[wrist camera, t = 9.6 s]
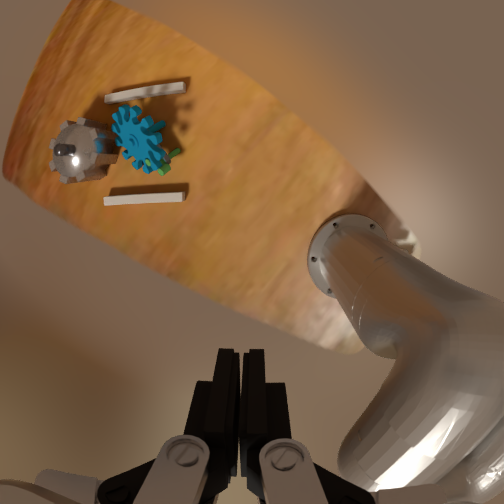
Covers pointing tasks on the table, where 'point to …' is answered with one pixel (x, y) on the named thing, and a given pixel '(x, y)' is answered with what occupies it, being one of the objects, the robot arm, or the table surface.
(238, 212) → the table surface
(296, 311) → the table surface
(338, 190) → the table surface
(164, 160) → the gear
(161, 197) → the guide rails
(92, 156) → the sun gear
